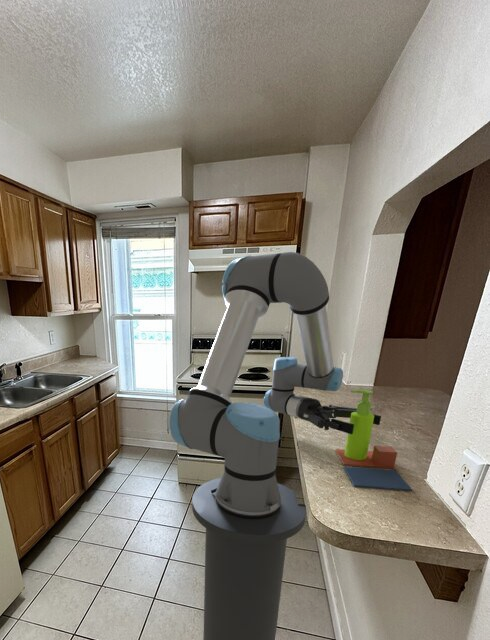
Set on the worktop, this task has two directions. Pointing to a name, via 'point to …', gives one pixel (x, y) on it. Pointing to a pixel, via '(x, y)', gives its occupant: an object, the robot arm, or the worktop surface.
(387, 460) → the terracotta block
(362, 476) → the slate mat
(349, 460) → the terracotta mat
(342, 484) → the worktop surface
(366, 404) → the soap dispenser
